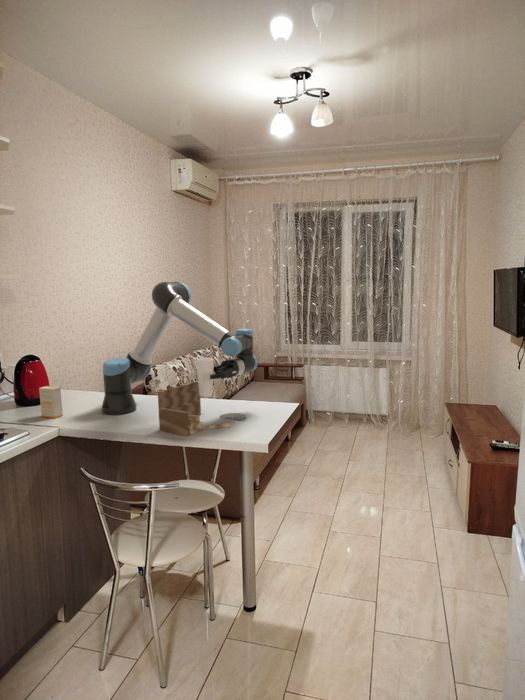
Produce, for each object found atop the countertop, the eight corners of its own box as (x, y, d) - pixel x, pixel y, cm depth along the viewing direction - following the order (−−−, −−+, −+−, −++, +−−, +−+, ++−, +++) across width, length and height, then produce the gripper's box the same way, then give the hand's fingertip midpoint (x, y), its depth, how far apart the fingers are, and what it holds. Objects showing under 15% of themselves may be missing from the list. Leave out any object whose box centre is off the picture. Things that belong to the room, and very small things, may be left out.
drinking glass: (197, 394, 191) (196, 357, 189) (214, 393, 191) (213, 357, 189) (196, 398, 184) (195, 360, 182) (214, 398, 185) (213, 360, 183)
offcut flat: (228, 428, 189) (228, 423, 189) (231, 431, 185) (230, 426, 185) (209, 430, 187) (208, 425, 187) (210, 433, 183) (210, 428, 183)
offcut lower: (190, 427, 186) (190, 419, 185) (202, 429, 182) (202, 422, 182) (178, 432, 180) (177, 424, 179) (190, 434, 176) (190, 426, 176)
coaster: (218, 415, 207) (218, 413, 206) (243, 413, 208) (243, 412, 208) (219, 422, 196) (219, 420, 196) (246, 420, 197) (246, 419, 197)
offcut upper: (188, 420, 184) (188, 414, 184) (199, 421, 182) (199, 415, 182) (180, 424, 179) (179, 418, 179) (191, 426, 177) (191, 419, 177)
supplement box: (63, 415, 209) (61, 386, 208) (54, 418, 205) (52, 389, 203) (50, 414, 213) (47, 385, 211) (41, 416, 209) (38, 387, 207)
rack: (198, 417, 203) (197, 380, 201) (226, 422, 196) (225, 384, 193) (157, 433, 183) (155, 392, 180) (186, 439, 175) (185, 397, 173)
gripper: (251, 378, 197) (217, 389, 178) (214, 374, 207) (178, 384, 188) (250, 361, 196) (216, 370, 177) (213, 357, 206) (177, 365, 187)
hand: (196, 377), depth 182 cm, fingers closed on drinking glass, 6 cm apart
